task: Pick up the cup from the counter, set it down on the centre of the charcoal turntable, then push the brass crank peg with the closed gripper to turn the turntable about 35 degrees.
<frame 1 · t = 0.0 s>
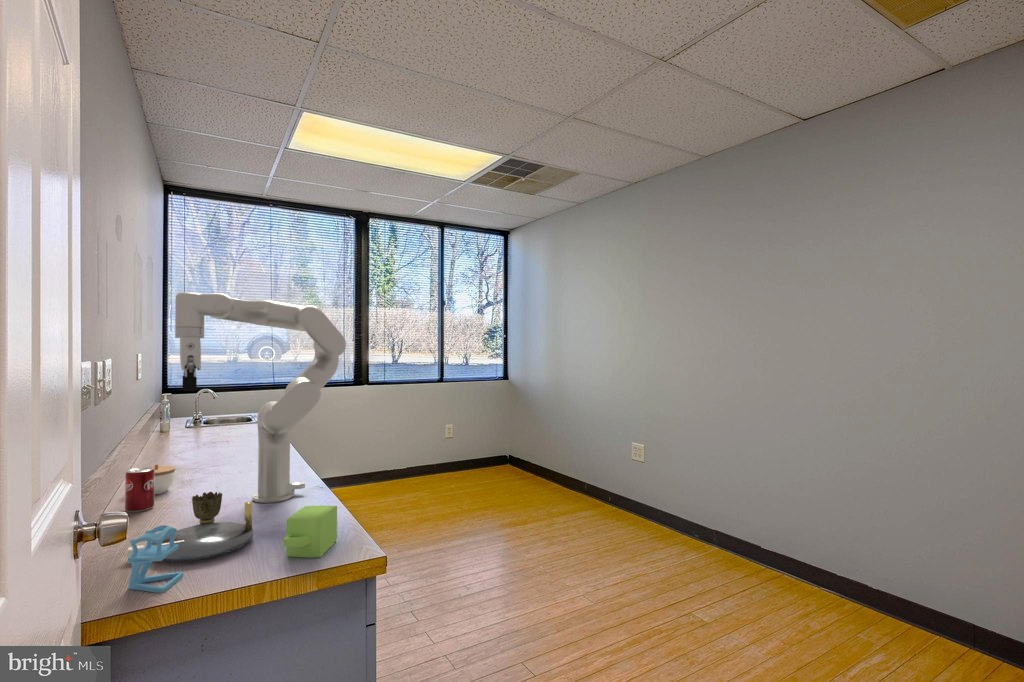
hand: (189, 389, 154), 37 cm above the counter, fingers open, 9 cm apart
cup: (207, 524, 143), on the counter
turntable base: (203, 547, 126), on the counter
turntable: (203, 526, 126), point 5 cm above the counter, hinge at 0.0°
chair: (153, 585, 107), on the counter
lidded jar: (156, 492, 173), on the counter
gearbox: (310, 548, 127), on the counter
soda can: (139, 509, 155), on the counter
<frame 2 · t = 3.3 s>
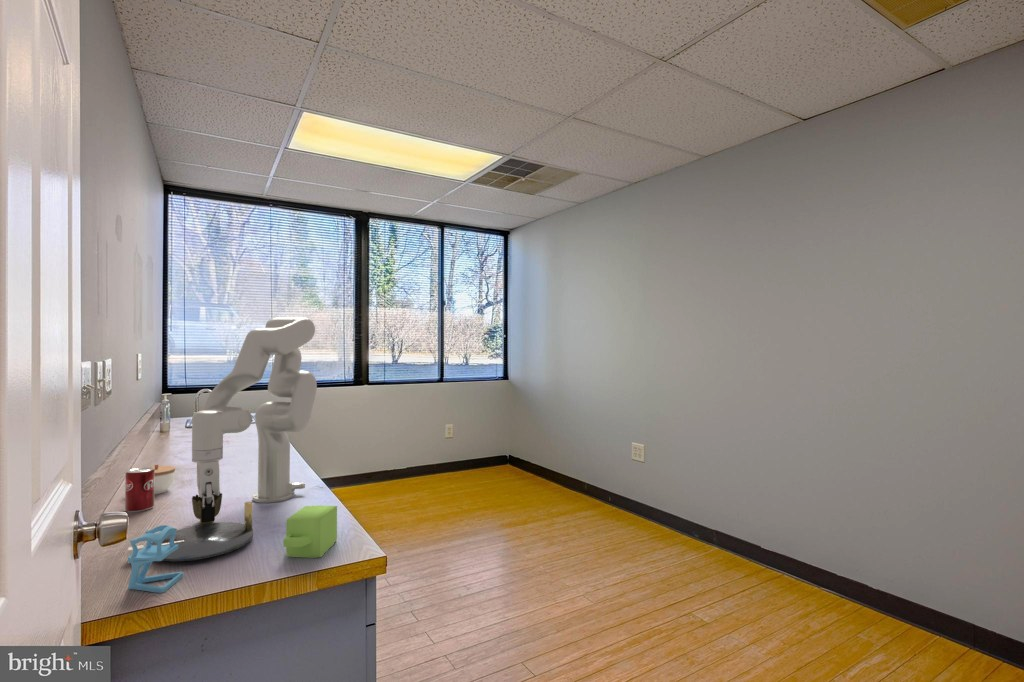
hand: (206, 517, 143), 2 cm above the counter, fingers closed on cup, 7 cm apart
cup: (206, 524, 143), on the counter, touching gripper
everything else where it was.
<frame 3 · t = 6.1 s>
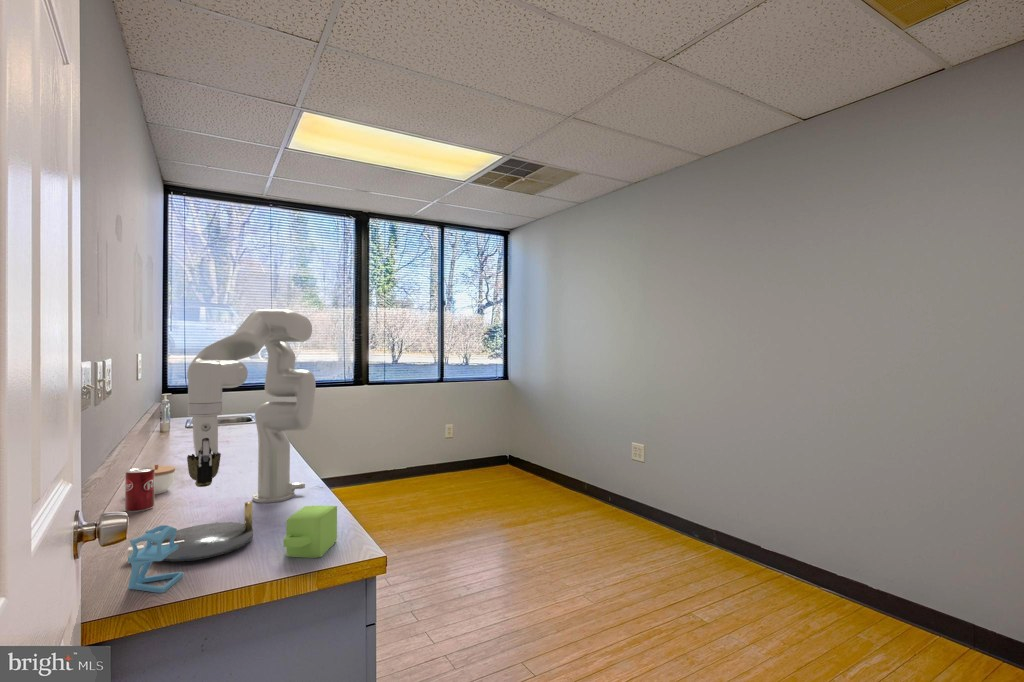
hand: (203, 478, 130), 16 cm above the counter, fingers closed on cup, 7 cm apart
cup: (203, 486, 130), point 14 cm above the counter, touching gripper
everything else where it was.
when the fingers open (5 cm above the counter, at t = 8.9 s): cup stays where it is, resting on turntable.
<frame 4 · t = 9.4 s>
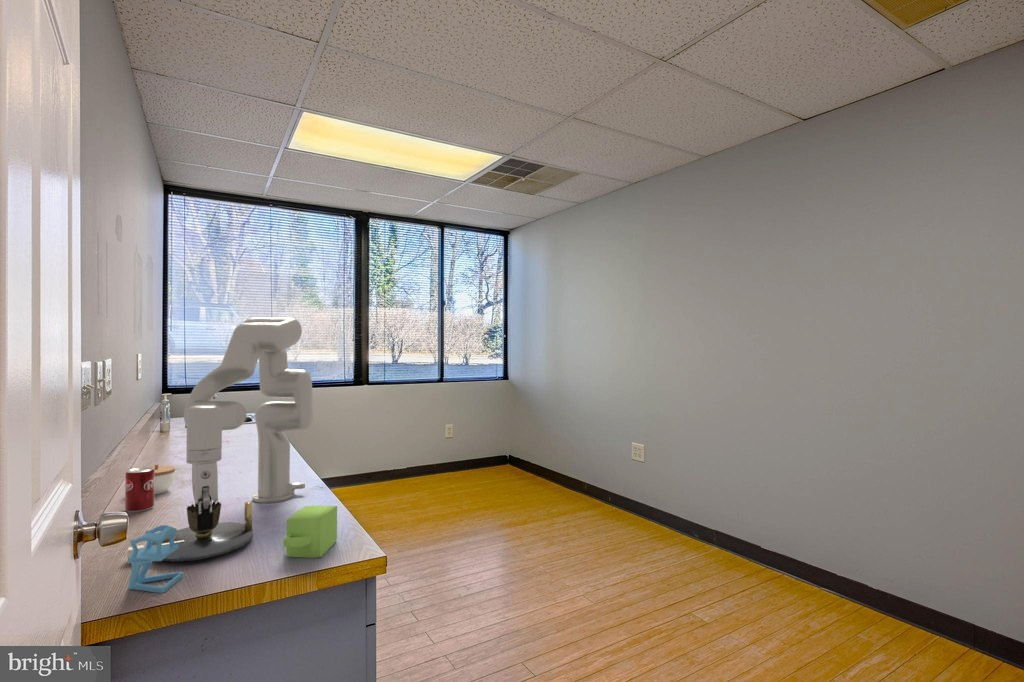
hand: (203, 523, 127), 6 cm above the counter, fingers open, 9 cm apart
cup: (203, 537, 127), point 2 cm above the counter, touching turntable
turntable: (203, 526, 126), point 5 cm above the counter, hinge at 0.0°, touching cup
everything else where it was.
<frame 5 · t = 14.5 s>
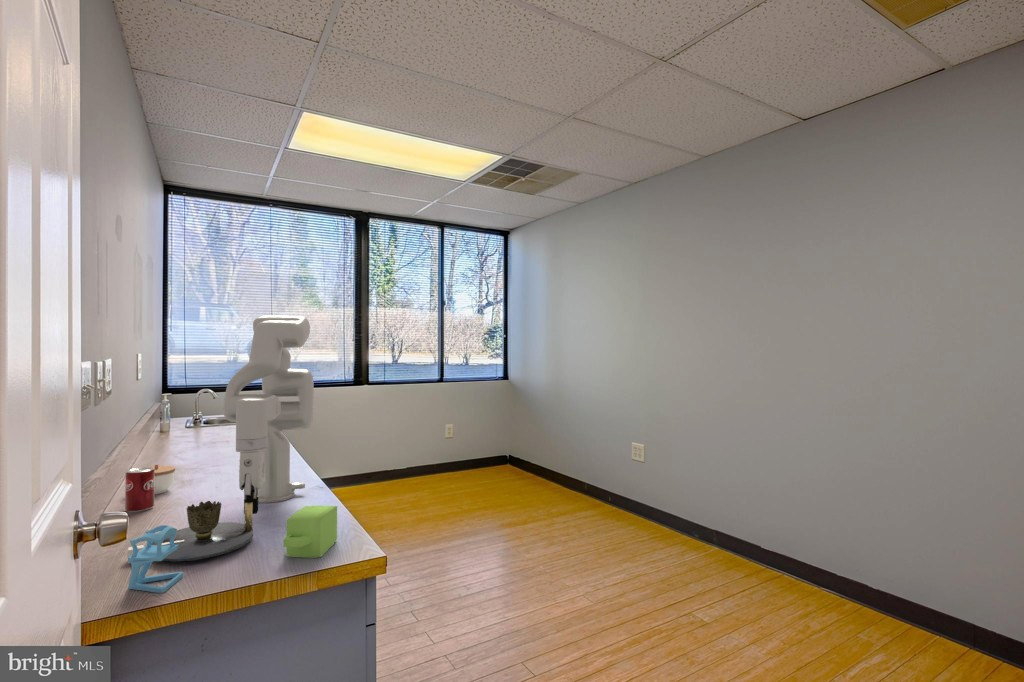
hand: (251, 513, 135), 6 cm above the counter, fingers closed
turntable: (203, 526, 126), point 5 cm above the counter, hinge at -1.6°, touching gripper, cup
everything else where it was.
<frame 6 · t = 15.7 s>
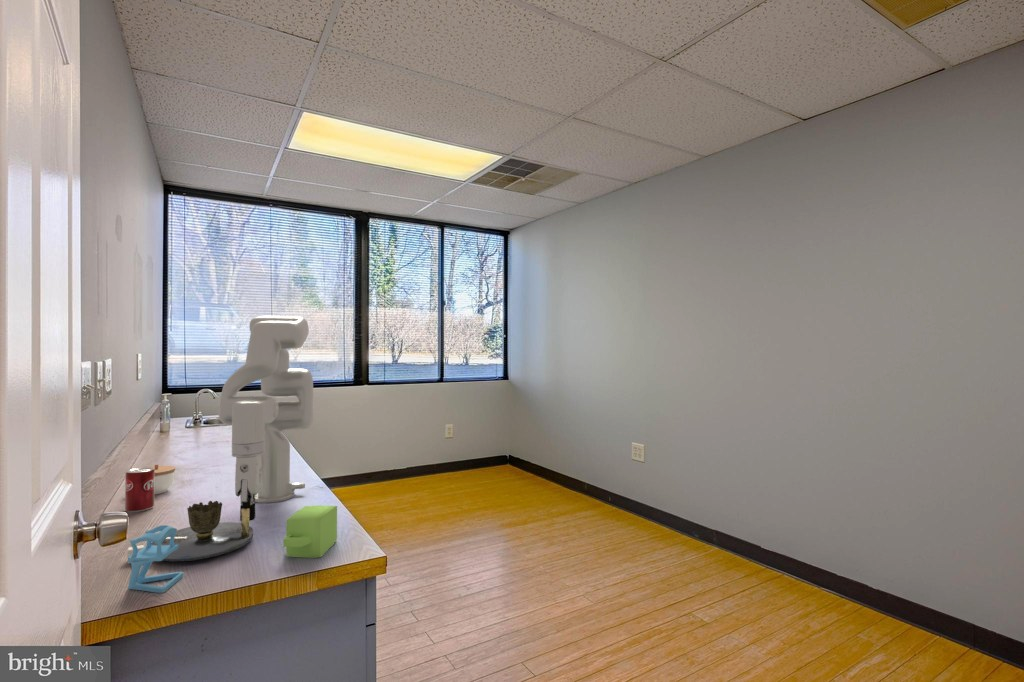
hand: (247, 519, 131), 6 cm above the counter, fingers closed
turntable: (203, 526, 126), point 5 cm above the counter, hinge at -30.0°, touching gripper, cup
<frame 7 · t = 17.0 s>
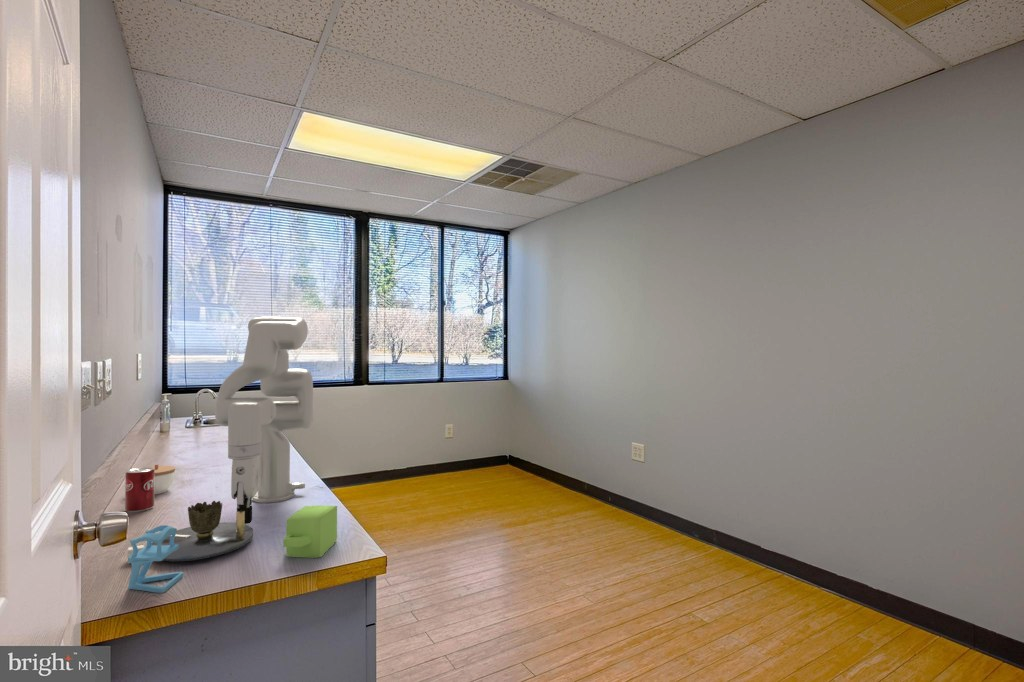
hand: (244, 522, 129), 5 cm above the counter, fingers closed
turntable: (203, 526, 126), point 5 cm above the counter, hinge at -42.5°, touching gripper, cup
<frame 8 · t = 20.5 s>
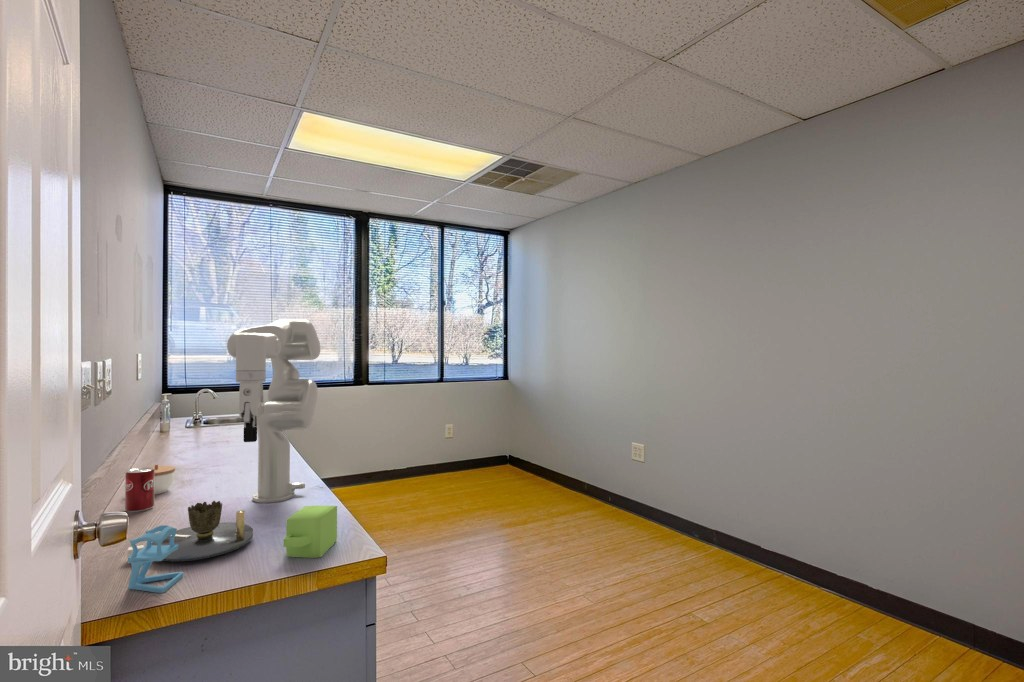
hand: (250, 441, 144), 23 cm above the counter, fingers closed
turntable: (203, 526, 126), point 5 cm above the counter, hinge at -42.5°, touching cup
at the end: cup 0.4 cm from the turntable (horizontally); cup tilted 0°; turntable at -42° (first picture: +0°) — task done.
